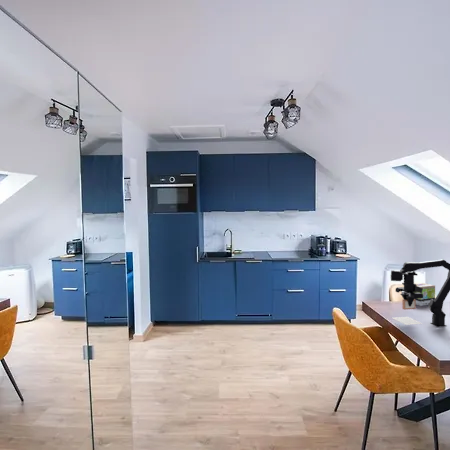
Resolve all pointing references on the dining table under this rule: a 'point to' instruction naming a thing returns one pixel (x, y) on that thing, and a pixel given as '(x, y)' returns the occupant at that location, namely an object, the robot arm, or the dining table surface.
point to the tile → (408, 305)
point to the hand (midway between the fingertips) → (408, 305)
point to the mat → (407, 320)
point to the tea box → (426, 294)
